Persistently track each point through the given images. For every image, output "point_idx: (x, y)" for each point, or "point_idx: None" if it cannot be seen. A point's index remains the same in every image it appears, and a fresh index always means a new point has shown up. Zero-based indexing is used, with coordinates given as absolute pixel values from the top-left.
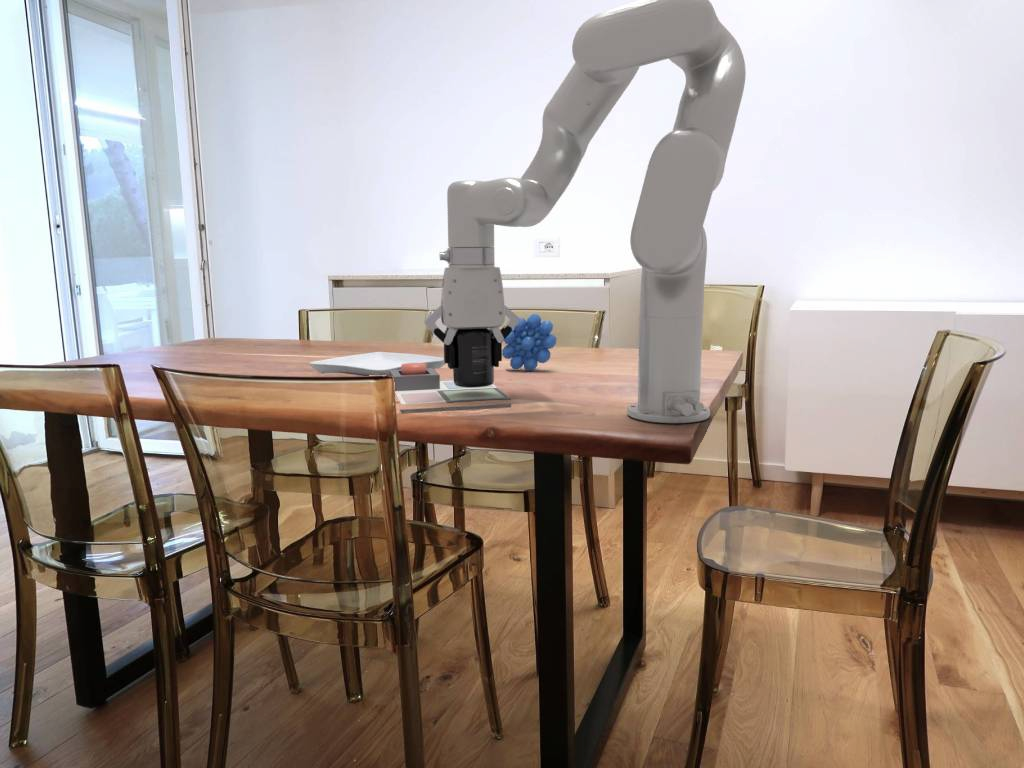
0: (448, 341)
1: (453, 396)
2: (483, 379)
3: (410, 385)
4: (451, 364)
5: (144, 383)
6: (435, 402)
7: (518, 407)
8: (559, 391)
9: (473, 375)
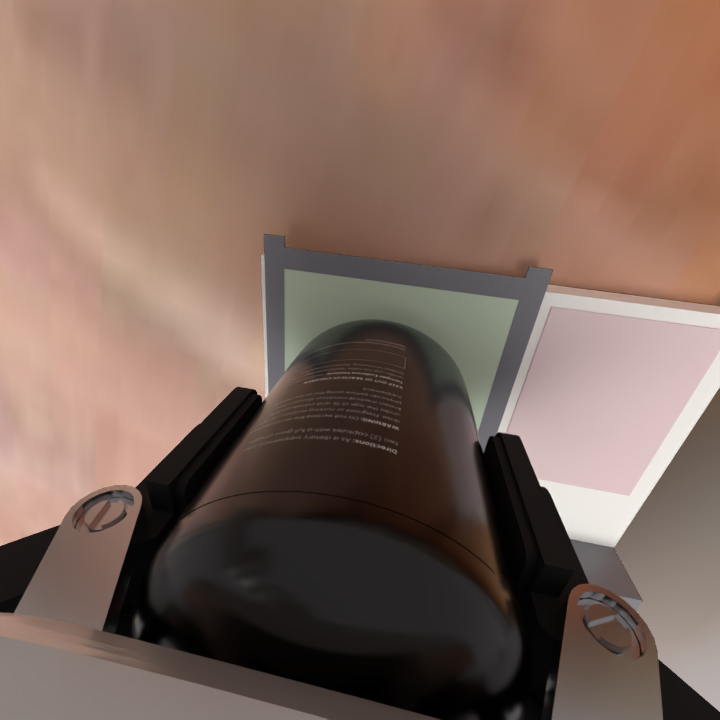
0: (593, 623)
1: (468, 376)
2: (351, 329)
3: None
4: (520, 447)
5: None
6: (595, 298)
7: (250, 242)
8: (97, 423)
9: (403, 343)
